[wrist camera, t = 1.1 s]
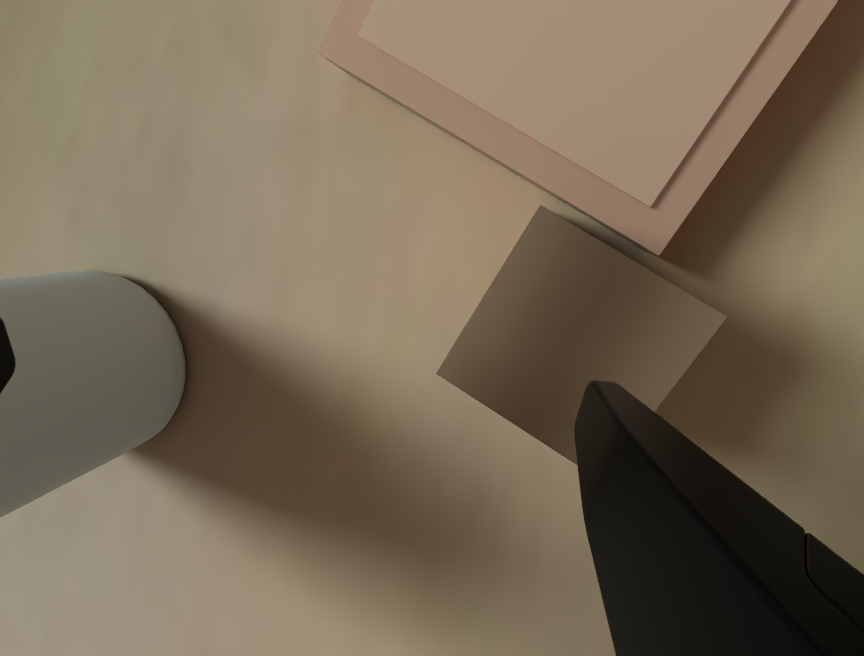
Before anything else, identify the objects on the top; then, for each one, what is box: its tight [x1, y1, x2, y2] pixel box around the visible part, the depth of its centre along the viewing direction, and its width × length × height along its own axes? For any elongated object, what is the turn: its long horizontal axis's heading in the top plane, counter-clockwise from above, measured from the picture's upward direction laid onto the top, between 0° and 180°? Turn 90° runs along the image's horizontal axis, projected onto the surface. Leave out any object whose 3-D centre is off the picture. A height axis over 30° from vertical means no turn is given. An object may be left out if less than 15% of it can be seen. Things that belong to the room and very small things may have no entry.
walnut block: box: [436, 205, 727, 464], centre depth 17 cm, size 5×5×6 cm
